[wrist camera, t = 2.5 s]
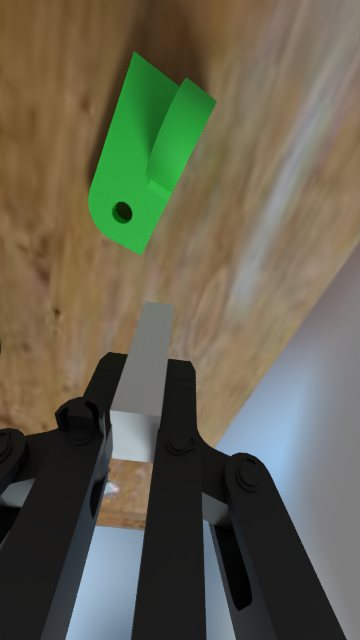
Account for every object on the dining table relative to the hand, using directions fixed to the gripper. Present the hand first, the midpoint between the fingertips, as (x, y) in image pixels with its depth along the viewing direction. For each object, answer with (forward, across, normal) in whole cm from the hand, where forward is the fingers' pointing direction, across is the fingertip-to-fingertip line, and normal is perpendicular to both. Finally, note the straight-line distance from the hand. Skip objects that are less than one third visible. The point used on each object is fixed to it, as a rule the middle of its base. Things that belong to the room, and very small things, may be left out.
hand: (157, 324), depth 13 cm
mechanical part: (+14, -4, +6) cm, 16 cm away
